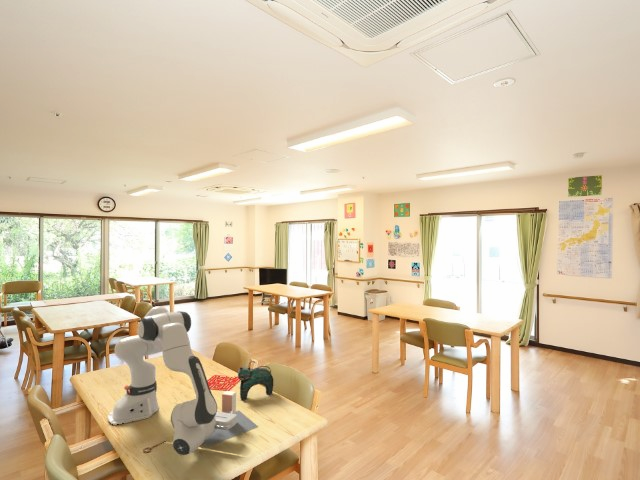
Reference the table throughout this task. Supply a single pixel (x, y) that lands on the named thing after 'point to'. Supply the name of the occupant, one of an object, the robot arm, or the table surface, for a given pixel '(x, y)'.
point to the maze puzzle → (222, 383)
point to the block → (229, 401)
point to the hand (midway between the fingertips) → (223, 410)
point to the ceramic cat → (254, 379)
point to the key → (153, 447)
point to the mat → (231, 430)
